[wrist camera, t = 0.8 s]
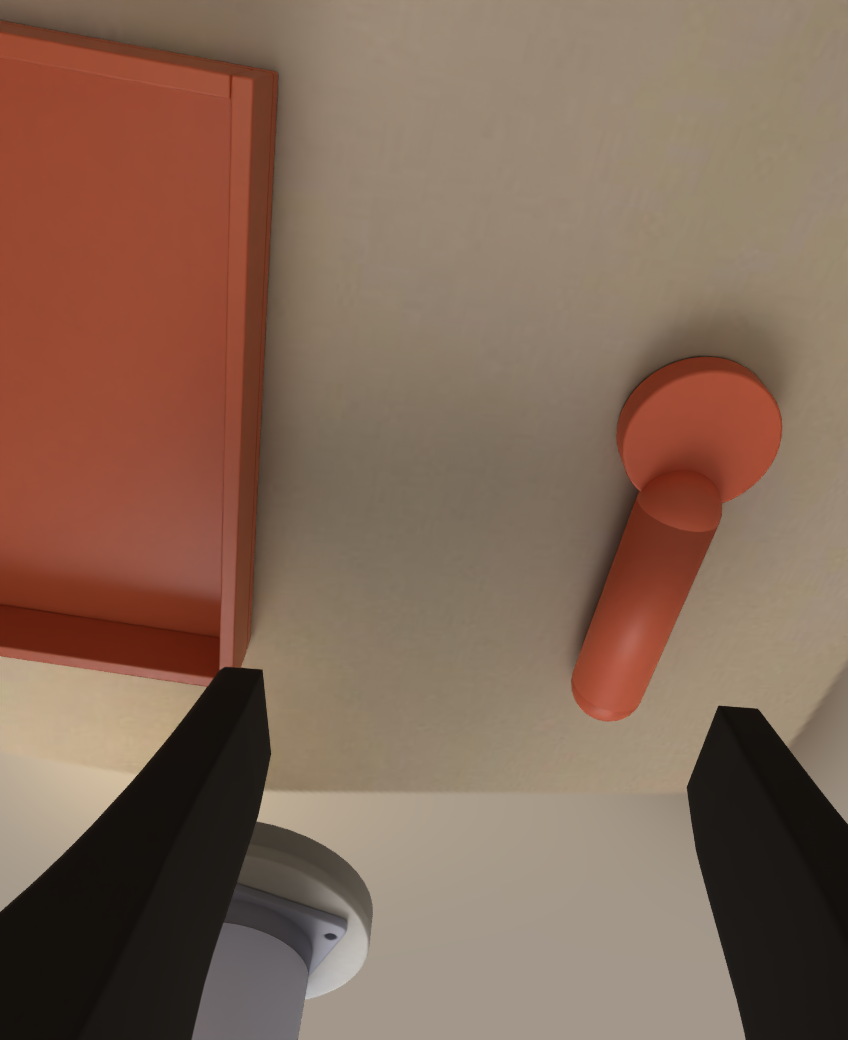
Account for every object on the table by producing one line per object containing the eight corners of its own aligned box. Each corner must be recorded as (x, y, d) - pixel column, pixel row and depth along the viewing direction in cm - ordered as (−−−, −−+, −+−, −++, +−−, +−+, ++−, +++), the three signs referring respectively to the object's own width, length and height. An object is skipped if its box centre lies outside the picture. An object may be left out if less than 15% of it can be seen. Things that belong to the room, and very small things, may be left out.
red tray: (250, 640, 23) (232, 691, 21) (-51, 594, 23) (-94, 642, 21) (279, 71, 15) (253, 78, 13) (-186, -15, 15) (-276, -20, 13)
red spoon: (650, 693, 23) (665, 745, 22) (533, 675, 23) (539, 726, 22) (795, 369, 18) (830, 406, 16) (642, 343, 18) (661, 377, 16)
